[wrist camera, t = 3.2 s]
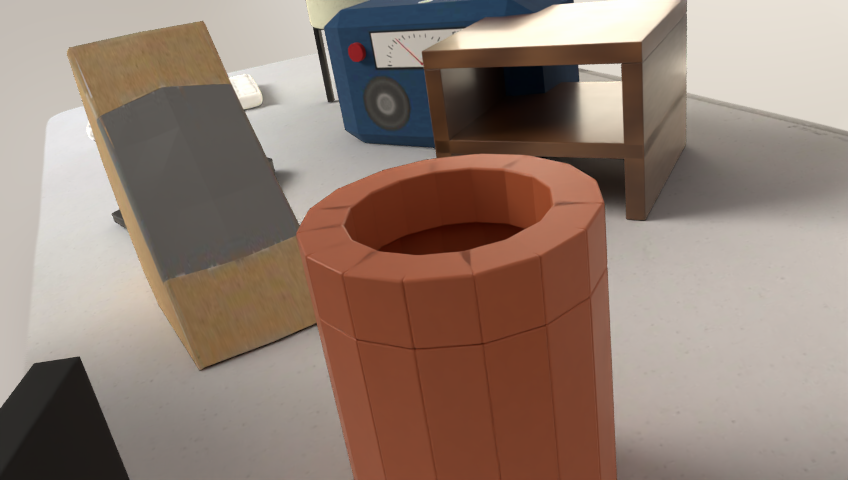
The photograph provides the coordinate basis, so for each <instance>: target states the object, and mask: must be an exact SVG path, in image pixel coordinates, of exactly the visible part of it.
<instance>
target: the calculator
mask: <svg viewBox="0 0 848 480" xmlns="http://www.w3.org/2000/svg"><path fill="white" fill-rule="evenodd" d="M229 79H230V82H231V84H232V86H233V88H234V90H235V92H236V94H237V97H238V99H239V101H240V103H241V105H242V107H243V109H249V108H253V107H257V106H259V105H261V104H262V101H263V97H262V93H261V91H260V89H259V88H258V86H257V84H256V83H255V81H254V79H253V78H252V76H251V75H246V74H241V75H236V76H232V77H229ZM87 134H88V136H89V137H90V139H91V140H94V141H95V138H94V135H93V132H92V129H91V126H90V123H88V125H87Z"/></svg>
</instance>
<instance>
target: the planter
mask: <svg viewBox="0 0 848 480" xmlns="http://www.w3.org/2000/svg"><path fill="white" fill-rule="evenodd" d="M366 1H369V0H306V4H307V9H308V14H309V19H310V24H311V26H312V27H313V30H314V35H315V39H316V45H317V49H318V55H319V60H320V65H321V70H322V75H323V80H324V85H325V90H326V95H327V100H328V102H333V101H334V100H335V99H334V94H333V89H332V84H331V79H330V74H329V69H328V63H327V58H326V53H325V48H324V43H323V38H322V33H321V30H324V26H325V25H326V24H327V23H328V22H329V21H330V20H331V19H332V18H333V17H334V16H335V15H336V14H337V13H338V12H339V11H340V10H342V9H345V8H348V7H351V6H354V5H357V4H360V3H363V2H366Z"/></svg>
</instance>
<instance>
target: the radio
mask: <svg viewBox="0 0 848 480" xmlns="http://www.w3.org/2000/svg"><path fill="white" fill-rule="evenodd" d="M572 3H574V1H573V0H369V1H366V2H363V3H360V4H357V5H354V6H351V7H348V8H345V9H342V10H340V11H339V12H338V13H337V14H336V15H335V16H334V17H333V18H332V19H331V20H330V21H329V22H328V23H327V24H326V25H325V26H324V31H325V36H326V40H327V45H328V50H329V55H330V60H331V64H332V69H333V74H334V79H335V83H336V88H337V93H338V98H339V103H340V107H341V112H342V117H343V122H344V127H345V130H346V131H348V132H349V133H351V134H352V135H354V136H355V137H357V138H358V139H360V140H361V141H363V142H365V143H374V144H389V145H404V146H419V147H434V148H435V143H434V136H433V129H432V122H431V115H430V108H429V101H428V94H427V87H426V80H425V73H424V70H425V69H424V66H423V59H422V51H423V50H425V49H427V48H429V47H431V46H432V45H434V44H436V43H438V42H440V41H442V40H444V39H446V38H447V37H449V36H451V35H453V34H455V33H457V32H459V31H461V30H462V29H464V28H466V27H468V26H470V25H472V24H474V23H476V22H478V21H479V20H481V19H483V18H485V17H504V16H513V15H522V14H531V13H537V12H539V11H541V10H543V9H545V8H547V7H549V6H551V5H558V4H572ZM503 70H504V80H505V90H506V96H518V95H530V94H541V93H546V92H548V91H549V90H551V89H552V88H554V87H555V86H557V85H558V84H560V83H561V82H579V71H578V65H551V66H518V67H503Z"/></svg>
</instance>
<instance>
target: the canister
mask: <svg viewBox="0 0 848 480" xmlns="http://www.w3.org/2000/svg"><path fill="white" fill-rule="evenodd" d="M296 238H297V242H298V246H299V251H300V255H301V259H302V263H303V267H304V272H305V276H306V280H307V284H308V288H309V292H310V297H311V301H312V305H313V309H314V314H315V318H316V322H317V326H318V330H319V335H320V339H321V343H322V347H323V351H324V356H325V360H326V364H327V368H328V372H329V376H330V381H331V385H332V389H333V393H334V397H335V402H336V406H337V410H338V414H339V418H340V423H341V427H342V431H343V435H344V439H345V444H346V448H347V452H348V456H349V460H350V465H351V469H352V473H353V477H354V480H617V469H616V447H615V425H614V403H613V380H612V358H611V336H610V313H609V291H608V269H607V246H606V223H605V203H604V200H603V197H602V194H601V192H600V189H599V186H598V183H597V181H596V180H595V179H594V178H592V177H591V176H589V175H587V174H585V173H584V172H582V171H580V170H579V169H577V168H575V167H573V166H572V165H570V164H566V163H562V162H557V161H553V160H548V159H543V158H539V157H534V156H529V155H527V156H526V155H508V154H471V155H462V156H453V157H444V158H435V159H430V160H429V159H427V160H423V161H418V162H414V163H410V164H406V165H402V166H398V167H394V168H390V169H386V170H382V172H381V171H380V172H377V173H375V174H373V175H370V176H368V177H365V178H363V179H360V180H358V181H356V182H353V183H351V184H348V185H346V186H344V187H341V188H338V189H337V190H335V191H334V192H333V193H331V194H330V195H328V196H327V197H326V198H324V199H323V200H321V201H320V202H319V203H317V204H316V205H314V206H313V207H312V208H310V210H309V211H308V212H307V214H306V216H305V218H304V220H303V221H302V223H301V225H300V227H299V229H298V231H297V232H296Z"/></svg>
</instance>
